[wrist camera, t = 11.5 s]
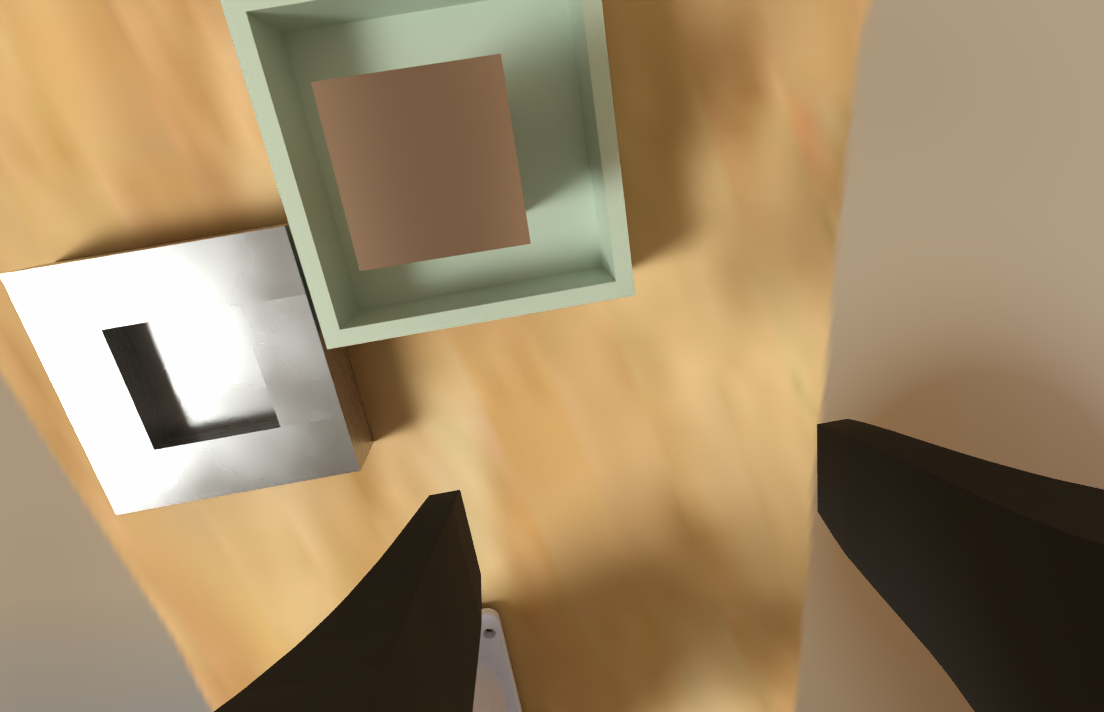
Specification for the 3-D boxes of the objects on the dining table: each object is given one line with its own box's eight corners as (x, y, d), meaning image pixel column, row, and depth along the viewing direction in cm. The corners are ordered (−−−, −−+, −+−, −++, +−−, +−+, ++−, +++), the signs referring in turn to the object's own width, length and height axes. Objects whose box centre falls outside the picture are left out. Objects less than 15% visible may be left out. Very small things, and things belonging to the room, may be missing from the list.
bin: (616, 275, 19) (635, 295, 17) (353, 321, 19) (327, 349, 16) (577, -30, 16) (593, -69, 14) (267, 21, 16) (217, -10, 13)
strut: (501, 97, 17) (501, 53, 10) (520, 214, 18) (530, 243, 11) (386, 114, 17) (310, 82, 10) (413, 231, 18) (360, 271, 11)
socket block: (373, 442, 21) (360, 470, 19) (152, 482, 20) (116, 514, 19) (307, 219, 18) (284, 225, 16) (52, 262, 18) (-1, 274, 16)
